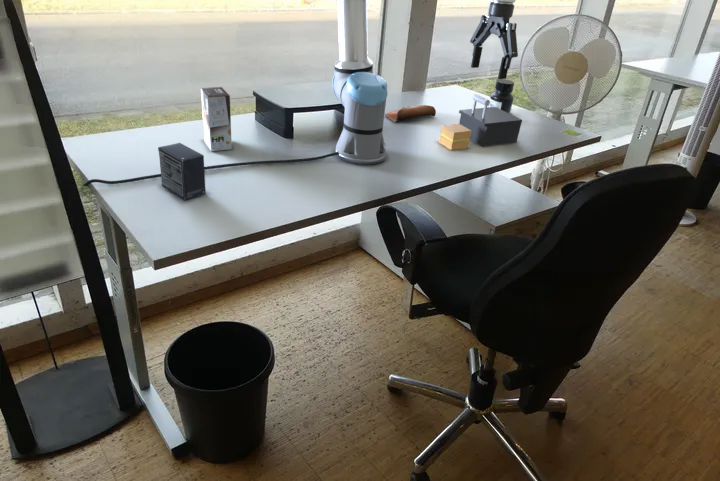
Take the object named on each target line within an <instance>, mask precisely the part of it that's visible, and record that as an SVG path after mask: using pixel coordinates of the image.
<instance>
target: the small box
mask: <svg viewBox="0 0 720 481" xmlns="http://www.w3.org/2000/svg"><path fill="white" fill-rule="evenodd" d="M157 151H158V157H159V165H160V166H159V168H160V174H161V177H160V178H161V187H162V188H164V189H166V190H167V191H168V192H171V193H172V194H174V195H175V196H177V197H178V198H180V199H181V200H183V201H187V200H191V199H194V198H197V197H200V196H204V195H206V193H207V192H206V176H205V175H206V174H205V170H204V167H205V155H204V154H202V153H201V152H199V151H196V150H195V149H193V148H191V147H189V146H187V145H185V144H183V143H181V142H177V143H172V144H168V145H167V144H166V145H162V146H158V148H157Z"/></svg>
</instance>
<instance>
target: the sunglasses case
mask: <svg viewBox="0 0 720 481" xmlns="http://www.w3.org/2000/svg"><path fill="white" fill-rule="evenodd" d="M436 114H437V111H436V108H435V107H434V106H433V105H426V104H418V105H412V106H407V107H405V106H403V107H402V108H399V109H395V110H391V111H389V112H387V113H386V112H385V114H384V116H385V117H387V119H389V120H390V121H392V122H394V123H397V122H399V121H405V120H408V119H409V120H410V119H412V118H421V117H430V116H431V117H435V116H436Z"/></svg>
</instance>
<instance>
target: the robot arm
mask: <svg viewBox="0 0 720 481" xmlns="http://www.w3.org/2000/svg"><path fill="white" fill-rule="evenodd" d="M516 1H517V0H491V1H490V2H489V3H488V8H487V14H482V15H481V16H480V21H479V23H478V25H477V26H476V28H475V31H474V32H473V34H472V36H471V37H470V39H469V43H470V44H472V46H473V49H472V54H471V55H472V59H471V64H470V68H472V69H476V68H477V69H478V68H480V63H481V58H482V52H483V44H484V43H485V42H486V40H487V39H488V38H489V37H490V36H491V35H495V36H497V38H499V41H500V45H501V48H502V49H501V50H502V52H503V57H501V61H500V66H499V71H498V76H497V79H506V80H507V76H508V71H509V69H510V67H511V63H512V59H513V58H518V56H519V50H518V42H517V41H518V40H517V25H518V24H517V23H516V22H510V19H511V18H512V17H513V15H514V10H515V4H514V3H516ZM336 15H337V16H336V17H337V18H336V19H337V39H338V40H337V41H338V43H337V44H338V58H337V59H336V60H335V61H334V65H333V66H334V74H333V76H332V82H331V83H332V84H331V85H332V91H333V93H334V95H335V97H336V98H337V100H338V101H339V102H340V103H341V105H342V106H343V108H344V114H343V127H342V131H341V134H340V135H339V138H338V139H337V140H338V141H337V142H336V146H335V152H331V153H327V154H323V155H320V156H319V155H318V156H314V157H305V158H292V159H274V160H256V161H244V162H243V161H242V162H234V163H224V164H215V165H210V166H208V165H206V166H204V171H206V170H213V169H221V168H222V169H223V168H230V167H239V166H250V165H252V166H253V165H263V164H264V165H265V164H285V163H286V164H288V163H299V162H310V161H318V160H322V159H327V158H329V157H335V156H336V157H337V158H338V159H340V161H343V162H346V163H349V164H353V165H359V166H360V165H361V166H371V165H377V164H380V163H382V162H384V161H385V160H386V157H387V148H386V145H387V144H386V142H385V139H384V135H383V134H384V133H383V130H384V129H383V128H384V123H385V122H384V120H385V114H386V105H387V98H388V83H387V81H386V80H385V78H383V77H382V76H380V75H379V74H376V73H374V62H373V61H372V60H371V59H370V58H369V56H368V52H369V51H368V0H336ZM155 178H157V179H158V178H161V173H156V174H150V175H145V176H138V177H131V178H125V179H118V180H105V179H100V178H91V179H89V180H87V181H86V182H84V184H83V187H88V186H89V185H90V184H93V183H100V184H104V185H119V184H127V183H133V182H139V181H144V180H149V179H155Z"/></svg>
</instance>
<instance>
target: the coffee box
mask: <svg viewBox="0 0 720 481" xmlns="http://www.w3.org/2000/svg"><path fill="white" fill-rule="evenodd" d="M200 96H201V98H200V99H201V110H202V125H203V126H202V127H203V141H204V143H205V144H206V146H207V147H208V149H209V150H210V151H211V152H217V151H229V150H232V146H233V144H232V121H231V120H232V119H231V114H232V113H231V95H230V94H229V93H228V92H227V91H226V90H225V89H224V88H223V87H222V86H211V87H209V86H208V87H201V88H200Z"/></svg>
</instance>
